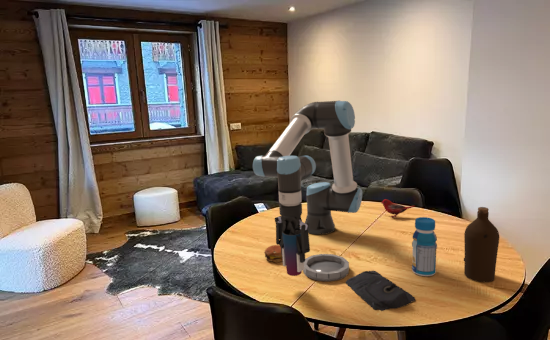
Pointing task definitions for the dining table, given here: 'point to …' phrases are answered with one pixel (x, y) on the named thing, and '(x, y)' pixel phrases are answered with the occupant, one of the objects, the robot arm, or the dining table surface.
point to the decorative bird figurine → (394, 207)
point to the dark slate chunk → (379, 291)
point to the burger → (274, 253)
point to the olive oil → (481, 248)
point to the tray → (326, 267)
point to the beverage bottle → (424, 247)
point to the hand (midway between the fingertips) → (293, 267)
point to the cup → (291, 253)
